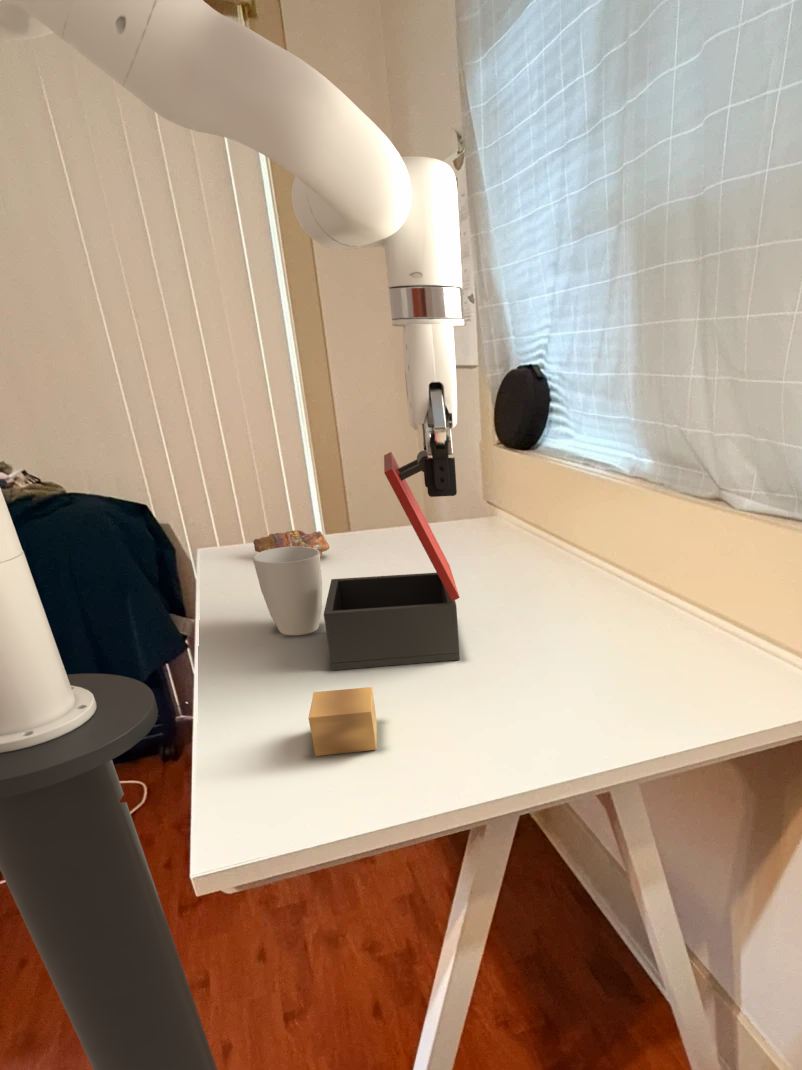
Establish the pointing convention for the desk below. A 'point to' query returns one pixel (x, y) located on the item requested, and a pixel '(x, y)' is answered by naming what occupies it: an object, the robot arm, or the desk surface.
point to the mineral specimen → (292, 541)
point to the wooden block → (343, 721)
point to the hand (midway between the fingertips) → (440, 489)
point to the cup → (291, 587)
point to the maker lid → (419, 516)
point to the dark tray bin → (390, 621)
